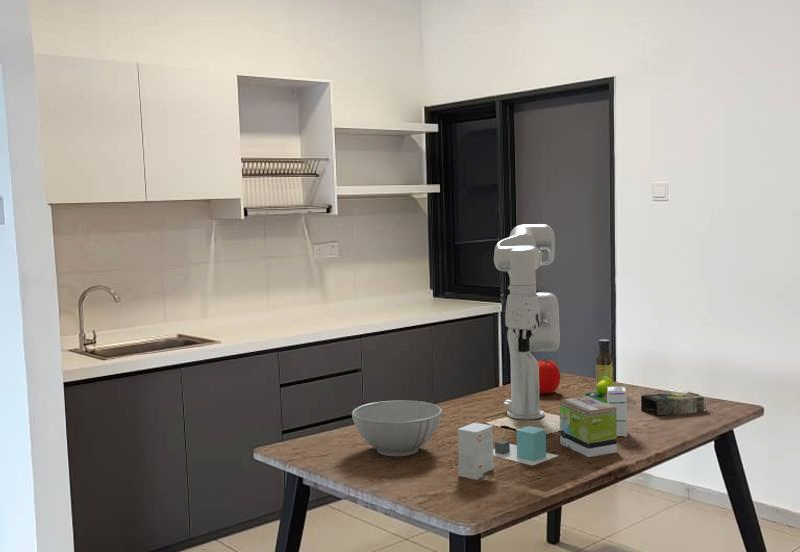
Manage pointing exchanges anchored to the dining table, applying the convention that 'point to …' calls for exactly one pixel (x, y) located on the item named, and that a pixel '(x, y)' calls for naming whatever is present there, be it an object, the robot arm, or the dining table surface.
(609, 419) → the tea box
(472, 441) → the small box
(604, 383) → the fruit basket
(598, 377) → the sauce bottle
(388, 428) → the decorative bowl
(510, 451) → the board
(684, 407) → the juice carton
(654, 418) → the dining table surface
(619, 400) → the syrup box
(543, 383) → the tomato
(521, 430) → the teal rectangular block
